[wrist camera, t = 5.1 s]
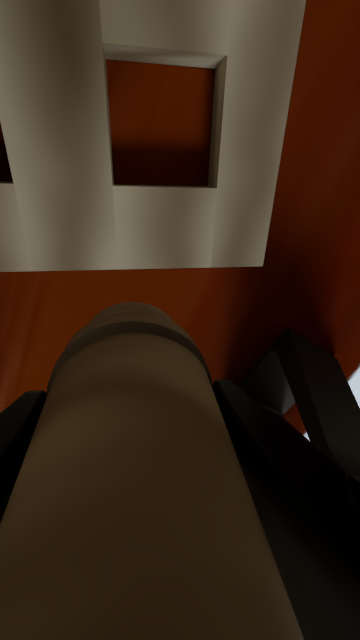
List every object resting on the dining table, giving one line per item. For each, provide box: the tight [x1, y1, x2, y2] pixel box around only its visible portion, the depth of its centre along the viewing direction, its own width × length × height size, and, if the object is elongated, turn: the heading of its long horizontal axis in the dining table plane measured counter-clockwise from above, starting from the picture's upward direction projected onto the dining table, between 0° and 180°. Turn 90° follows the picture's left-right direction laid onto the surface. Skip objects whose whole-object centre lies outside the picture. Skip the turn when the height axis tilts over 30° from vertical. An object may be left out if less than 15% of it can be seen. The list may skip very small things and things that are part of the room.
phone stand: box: [238, 329, 360, 482], centre depth 20 cm, size 9×6×12 cm, turn 146°
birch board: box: [0, 0, 306, 272], centre depth 14 cm, size 22×14×2 cm, turn 88°
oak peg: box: [0, 302, 304, 640], centre depth 6 cm, size 4×4×8 cm
